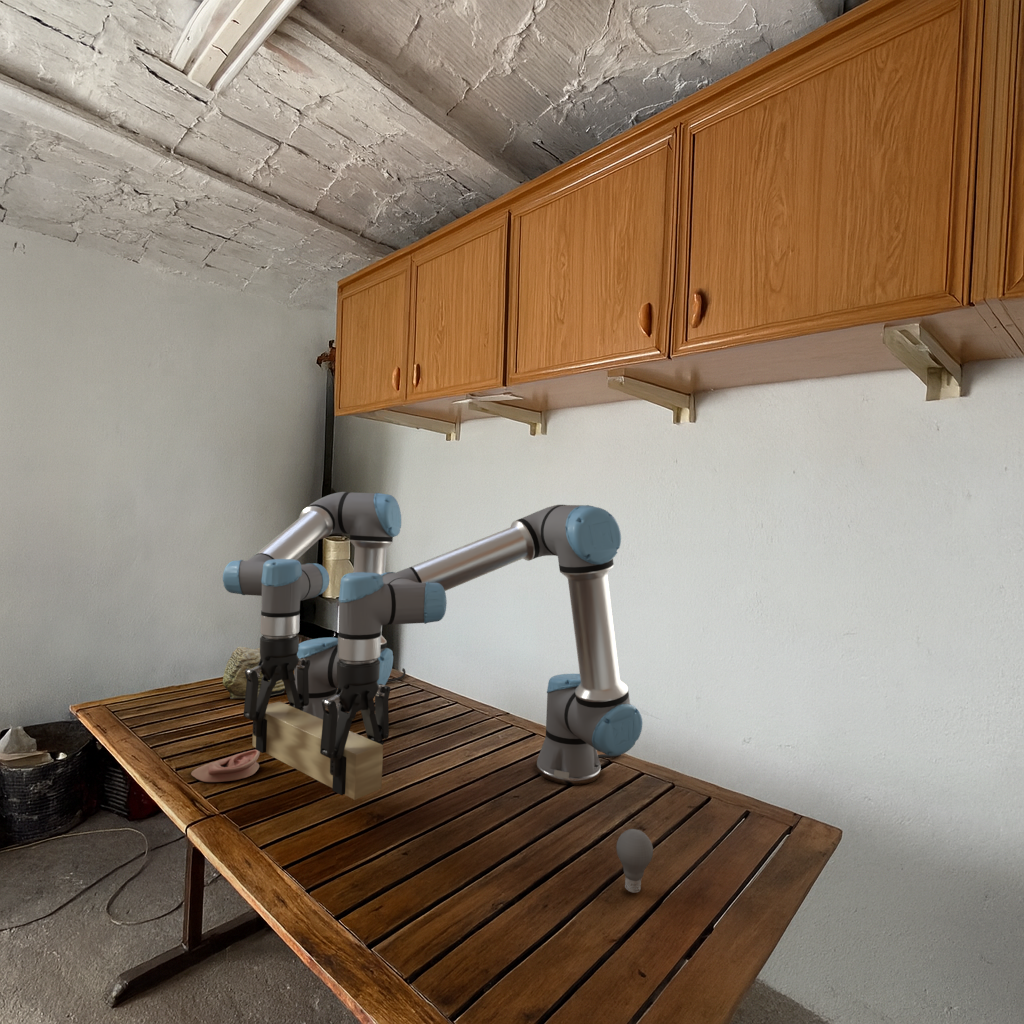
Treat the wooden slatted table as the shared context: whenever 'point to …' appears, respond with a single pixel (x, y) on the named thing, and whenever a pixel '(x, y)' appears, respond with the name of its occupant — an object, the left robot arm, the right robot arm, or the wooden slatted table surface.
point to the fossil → (236, 672)
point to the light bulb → (634, 857)
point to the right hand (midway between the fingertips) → (354, 785)
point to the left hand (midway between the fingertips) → (276, 745)
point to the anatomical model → (229, 768)
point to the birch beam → (299, 747)
